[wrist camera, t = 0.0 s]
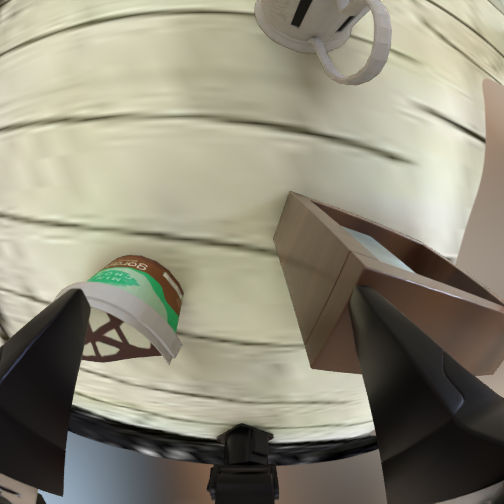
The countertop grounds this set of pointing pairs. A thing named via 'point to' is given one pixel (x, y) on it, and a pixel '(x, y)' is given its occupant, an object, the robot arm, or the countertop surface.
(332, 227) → the window frame
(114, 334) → the food container
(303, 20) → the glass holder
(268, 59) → the countertop surface
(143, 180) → the countertop surface
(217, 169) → the countertop surface
